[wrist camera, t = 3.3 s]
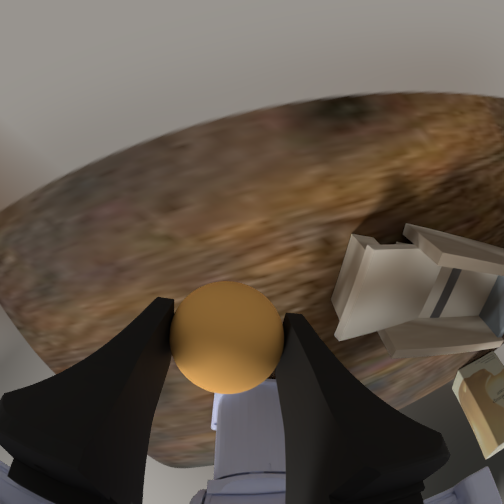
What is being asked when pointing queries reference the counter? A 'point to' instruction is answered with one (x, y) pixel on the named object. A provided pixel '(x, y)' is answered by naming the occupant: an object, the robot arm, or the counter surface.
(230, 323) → the ball
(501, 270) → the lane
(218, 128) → the counter surface
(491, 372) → the skincare box
